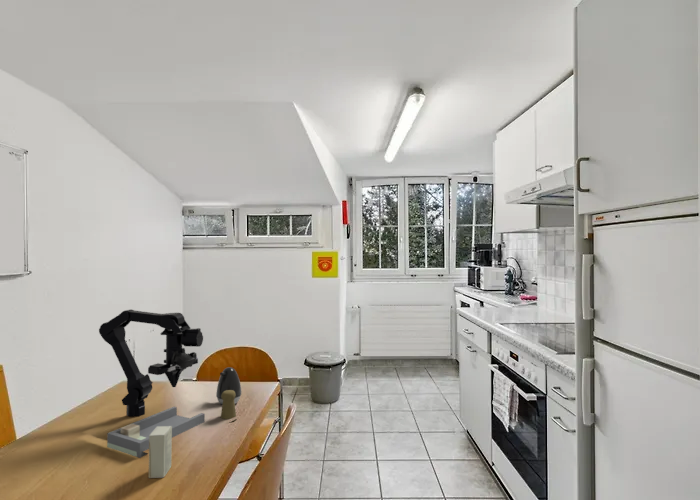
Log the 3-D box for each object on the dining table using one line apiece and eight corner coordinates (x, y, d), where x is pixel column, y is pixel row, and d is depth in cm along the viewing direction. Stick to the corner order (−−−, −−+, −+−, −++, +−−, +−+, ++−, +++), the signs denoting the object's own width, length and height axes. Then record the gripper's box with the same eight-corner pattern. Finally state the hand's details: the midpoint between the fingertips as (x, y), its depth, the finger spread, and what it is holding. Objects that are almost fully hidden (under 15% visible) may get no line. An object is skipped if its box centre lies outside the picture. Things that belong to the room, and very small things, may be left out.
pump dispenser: (210, 406, 167) (210, 369, 167) (227, 398, 177) (227, 363, 177) (230, 409, 163) (230, 372, 163) (246, 401, 173) (246, 365, 173)
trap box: (107, 447, 131) (107, 433, 131) (173, 418, 155) (173, 406, 155) (139, 457, 124) (140, 443, 124) (204, 425, 148) (204, 413, 148)
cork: (231, 423, 149) (231, 394, 150) (217, 422, 151) (217, 393, 151) (239, 417, 155) (239, 388, 155) (225, 416, 157) (225, 387, 157)
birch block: (120, 440, 133) (120, 428, 133) (131, 435, 137) (131, 423, 137) (128, 442, 131) (128, 430, 131) (139, 437, 135) (139, 425, 135)
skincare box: (156, 467, 119) (156, 425, 119) (172, 466, 119) (172, 425, 119) (147, 479, 112) (148, 435, 113) (164, 478, 113) (164, 434, 113)
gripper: (168, 353, 143) (168, 397, 143) (208, 343, 160) (208, 382, 160) (147, 350, 148) (146, 393, 148) (187, 340, 165) (187, 379, 165)
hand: (174, 386), depth 155 cm, fingers closed
